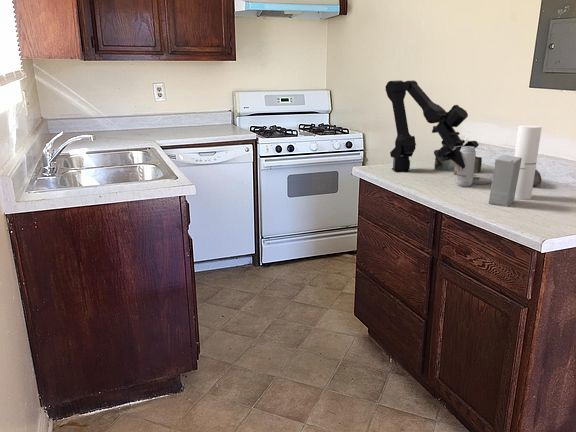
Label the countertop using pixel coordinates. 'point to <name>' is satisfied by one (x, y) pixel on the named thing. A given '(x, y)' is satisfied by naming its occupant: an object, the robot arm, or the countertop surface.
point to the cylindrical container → (527, 159)
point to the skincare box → (504, 180)
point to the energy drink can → (466, 167)
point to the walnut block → (455, 170)
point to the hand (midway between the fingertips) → (469, 166)
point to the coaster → (481, 181)
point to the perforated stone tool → (537, 178)
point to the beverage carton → (451, 164)
